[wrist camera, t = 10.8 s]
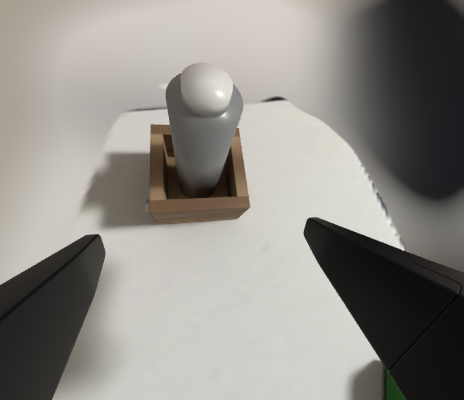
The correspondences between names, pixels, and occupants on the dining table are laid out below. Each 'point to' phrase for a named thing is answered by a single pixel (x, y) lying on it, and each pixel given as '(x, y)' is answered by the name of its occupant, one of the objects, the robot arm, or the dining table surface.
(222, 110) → the white rounded cylinder
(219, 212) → the end holder
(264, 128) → the dining table surface
